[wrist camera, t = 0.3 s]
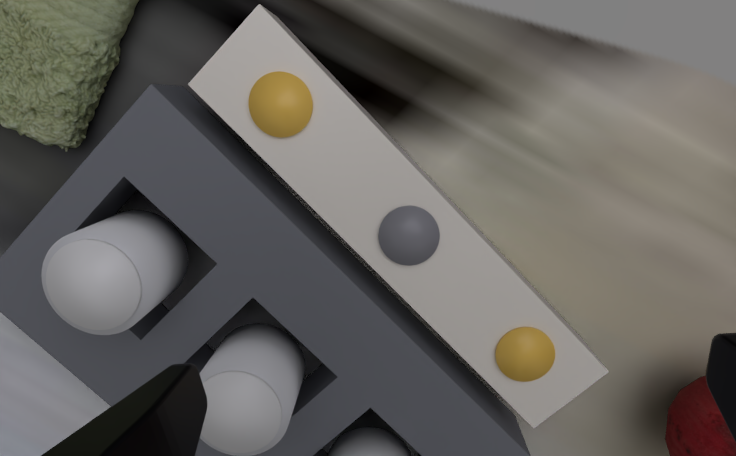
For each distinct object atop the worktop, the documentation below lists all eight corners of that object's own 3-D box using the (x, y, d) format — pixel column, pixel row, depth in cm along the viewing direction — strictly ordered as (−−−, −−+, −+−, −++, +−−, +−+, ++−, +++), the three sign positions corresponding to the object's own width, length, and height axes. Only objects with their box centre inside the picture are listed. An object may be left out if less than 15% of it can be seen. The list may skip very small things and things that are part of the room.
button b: (263, 420, 23) (239, 477, 20) (198, 362, 23) (162, 410, 19) (323, 367, 23) (311, 416, 19) (258, 305, 22) (232, 345, 18)
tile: (517, 390, 25) (535, 431, 22) (214, 86, 22) (185, 84, 19) (582, 339, 24) (611, 374, 21) (277, 17, 21) (257, 2, 18)
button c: (147, 317, 22) (101, 358, 19) (77, 254, 22) (15, 283, 18) (207, 257, 22) (170, 288, 18) (135, 190, 21) (83, 208, 18)
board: (343, 547, 28) (338, 599, 25) (23, 266, 25) (-27, 288, 22) (514, 415, 25) (530, 456, 22) (182, 86, 22) (151, 83, 19)
